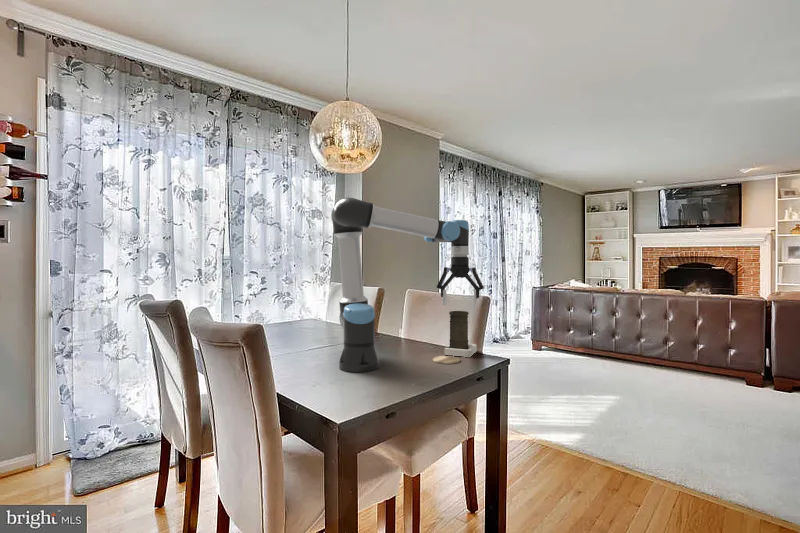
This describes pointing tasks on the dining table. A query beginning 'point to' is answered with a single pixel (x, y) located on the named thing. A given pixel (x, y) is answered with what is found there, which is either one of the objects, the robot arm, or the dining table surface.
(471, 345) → the cradle
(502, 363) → the dining table surface
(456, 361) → the disc
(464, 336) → the container
